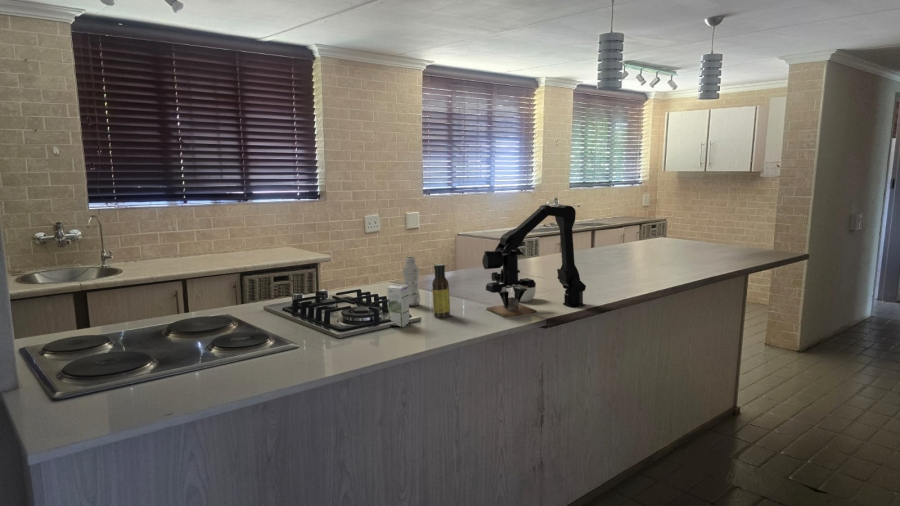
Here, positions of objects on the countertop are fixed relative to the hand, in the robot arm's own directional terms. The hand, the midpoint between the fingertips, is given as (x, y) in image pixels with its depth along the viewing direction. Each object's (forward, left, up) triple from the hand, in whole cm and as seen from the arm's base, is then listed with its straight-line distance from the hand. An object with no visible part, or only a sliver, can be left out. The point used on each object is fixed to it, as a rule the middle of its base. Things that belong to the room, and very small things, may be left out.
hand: (511, 307), depth 220 cm
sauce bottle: (+25, -9, -2) cm, 27 cm away
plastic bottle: (+28, -32, -2) cm, 43 cm away
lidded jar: (-14, -14, -2) cm, 20 cm away
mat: (0, 0, -2) cm, 2 cm away
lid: (0, 0, -2) cm, 2 cm away
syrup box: (+43, -6, -2) cm, 43 cm away
